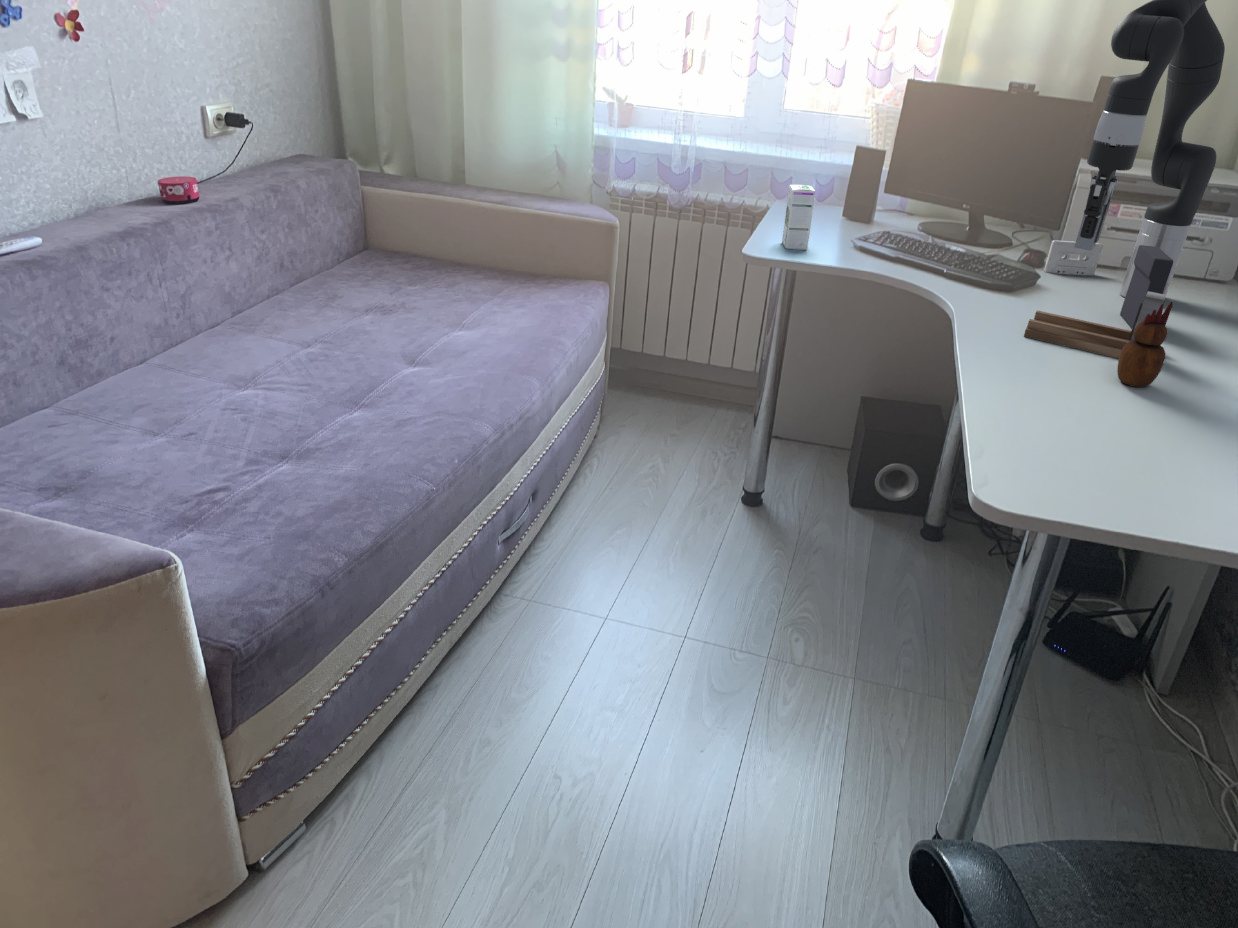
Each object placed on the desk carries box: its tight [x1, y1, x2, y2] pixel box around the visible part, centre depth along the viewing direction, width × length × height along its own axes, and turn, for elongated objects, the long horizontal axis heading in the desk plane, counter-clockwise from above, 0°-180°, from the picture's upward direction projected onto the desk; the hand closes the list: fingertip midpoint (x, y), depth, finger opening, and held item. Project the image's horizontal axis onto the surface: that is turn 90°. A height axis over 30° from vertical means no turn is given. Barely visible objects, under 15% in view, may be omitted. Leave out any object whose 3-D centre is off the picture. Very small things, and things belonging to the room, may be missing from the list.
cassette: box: [1043, 239, 1104, 276], centre depth 224 cm, size 12×2×8 cm, turn 89°
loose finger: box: [1074, 196, 1111, 251], centre depth 173 cm, size 4×3×10 cm
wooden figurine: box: [1116, 301, 1174, 388], centre depth 161 cm, size 7×6×15 cm
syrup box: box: [781, 184, 816, 251], centre depth 229 cm, size 6×6×14 cm
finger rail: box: [1023, 291, 1166, 359], centre depth 179 cm, size 10×23×12 cm, turn 57°
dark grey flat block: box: [1119, 245, 1174, 329], centre depth 190 cm, size 11×4×15 cm, turn 168°
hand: (1088, 235), depth 175 cm, fingers closed on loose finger, 4 cm apart
